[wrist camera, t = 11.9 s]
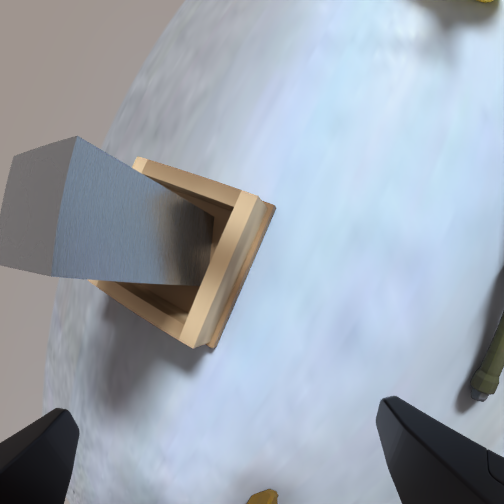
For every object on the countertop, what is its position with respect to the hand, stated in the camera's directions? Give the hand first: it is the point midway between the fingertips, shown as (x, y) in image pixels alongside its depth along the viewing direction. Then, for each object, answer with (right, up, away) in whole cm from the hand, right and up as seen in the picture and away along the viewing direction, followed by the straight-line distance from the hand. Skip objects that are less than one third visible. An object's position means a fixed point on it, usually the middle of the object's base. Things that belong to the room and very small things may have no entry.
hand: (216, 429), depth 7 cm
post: (-4, +5, +13) cm, 14 cm away
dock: (-4, +5, +13) cm, 15 cm away
